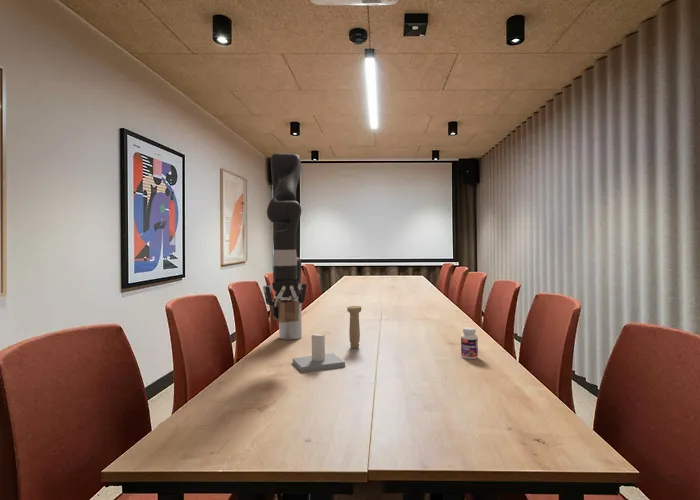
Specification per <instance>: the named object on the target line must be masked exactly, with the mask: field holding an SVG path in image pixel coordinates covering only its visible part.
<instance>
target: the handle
mask: <svg viewBox="0 0 700 500" xmlns="http://www.w3.org/2000/svg"><path fill="white" fill-rule="evenodd" d="M361 311H362V306H361V305H351V306H347V311H346V312H348V313H349V329H348V330H349V331H348V333H349V334H348V335H349V345H350V348H351V349H358V348H359V347H360V338H361V337H360V336H361V331H360V329H361V328H360V327H361V326H360V312H361Z"/></svg>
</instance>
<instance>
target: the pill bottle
mask: <svg viewBox="0 0 700 500" xmlns="http://www.w3.org/2000/svg"><path fill="white" fill-rule="evenodd" d="M462 332H463V333H462V334H461V335H460V356H461V358H463V359H465V360H475V359H478V357H479V354H478V353H479V350H478V349H479V344H478V343H479V341H478V340H479V338H478V335H477V334H476V327H471V326H466V327H465V326H464V327H463V328H462Z"/></svg>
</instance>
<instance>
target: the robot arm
mask: <svg viewBox="0 0 700 500" xmlns="http://www.w3.org/2000/svg"><path fill="white" fill-rule="evenodd" d="M270 171H271V184H272V185H271V186H272V195H273V196H272V199H271V200H270V201H269V203H268V206H267V209H266V216H267V219H268V220H269V221H270V222H271V223H273V229H274V231H273V232H274V233H273V237H272V238H273V239H272V241H273V251H272V252H273V253H272V281H273V282H272V283H271V284H269V285H264V286H262V289H263V293H264V298H265V303H266V305H269V306H271V307H272V308H271V310H272V317H274V318H275V319H278V302H279V301H280V300H284V299H293V300H295V301H298V319H299V321H293V322H284V323H281V322H279V321H278V330H279V331H278V337H279V340H284V341H285V340H286V341H288V340H290V341H292V340H297V339H298V340H299V339H301V338H302V336H303V335H302V333H303V331H302V321H303V320H302V303H305V298H306V293H307V292H306V291H307V286H308V285H307V284H305V283H302V260H301V258H300V257H298V255H297V230H298V226H299V224H300V223H299V222H300V219H301V214H302V206H301V204H300V203H299V202H298V201H297V189H298V188H297V187H298V184H299V182H300V177H301V172H302V162H301V158H300V156H299V155H298V154H295V153H279V152H278V153H273V154H272V155H271V157H270ZM272 290H273V291H274V295H273V298H272V295H271V293H272V292H273V291H272Z"/></svg>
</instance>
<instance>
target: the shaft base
mask: <svg viewBox="0 0 700 500" xmlns="http://www.w3.org/2000/svg"><path fill="white" fill-rule="evenodd" d="M325 343H326V342H325V334H320V333H313V334H311V355H309V356H301V357H300V356H299V357H293V358H292V364H293V365H294V366H295V367H296V368H297V369H298V370H299V371H300V372H301V373H306V372H314V371H321V370H322V371H323V370H328V369H336V368H339V369H340V368H344V367H346V362H345V360H343V359H342V358H340V357H339V356H338V355H336V354H335V353H326V352H325V350H326V347H325V345H326V344H325Z"/></svg>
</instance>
